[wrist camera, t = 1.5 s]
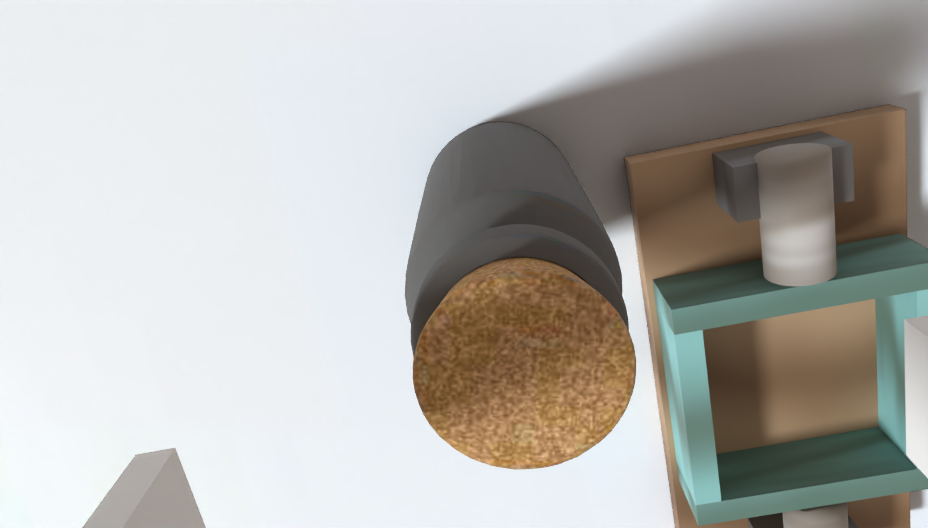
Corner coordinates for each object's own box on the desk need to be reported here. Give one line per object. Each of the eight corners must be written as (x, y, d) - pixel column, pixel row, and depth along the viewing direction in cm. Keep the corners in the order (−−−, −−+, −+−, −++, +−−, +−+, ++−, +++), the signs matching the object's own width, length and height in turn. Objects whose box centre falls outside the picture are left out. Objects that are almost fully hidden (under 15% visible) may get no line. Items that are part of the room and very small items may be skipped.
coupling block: (624, 157, 30) (651, 187, 25) (888, 104, 29) (966, 126, 24) (678, 549, 36) (707, 630, 31) (896, 514, 35) (959, 592, 31)
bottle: (405, 236, 31) (350, 447, 17) (454, 98, 29) (439, 203, 15) (540, 283, 31) (598, 525, 17) (597, 150, 29) (713, 300, 15)
